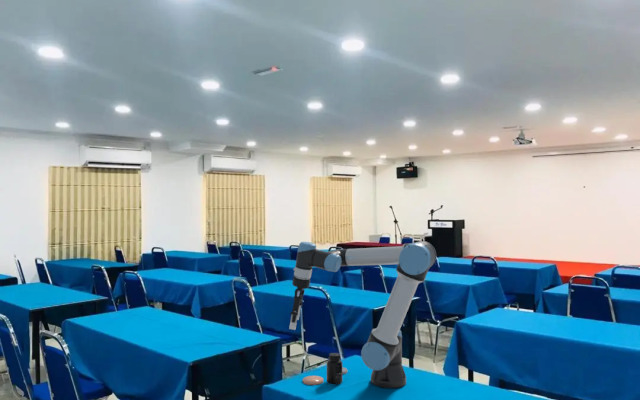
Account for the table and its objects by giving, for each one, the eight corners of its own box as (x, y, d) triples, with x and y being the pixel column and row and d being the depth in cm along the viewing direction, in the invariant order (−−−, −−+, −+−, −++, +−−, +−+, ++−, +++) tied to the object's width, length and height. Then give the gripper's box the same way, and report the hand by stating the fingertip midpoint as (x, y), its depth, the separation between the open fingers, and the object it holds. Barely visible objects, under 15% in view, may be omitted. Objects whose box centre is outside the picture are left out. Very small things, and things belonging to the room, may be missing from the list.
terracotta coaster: (326, 383, 210) (326, 381, 210) (307, 386, 206) (307, 384, 206) (318, 376, 218) (318, 374, 218) (299, 379, 214) (299, 377, 214)
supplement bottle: (341, 385, 207) (340, 357, 207) (325, 384, 208) (325, 356, 208) (343, 379, 214) (343, 352, 214) (328, 378, 215) (328, 351, 215)
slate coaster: (350, 373, 222) (350, 371, 222) (333, 376, 218) (333, 374, 218) (341, 367, 230) (341, 365, 230) (324, 370, 226) (324, 368, 226)
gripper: (296, 269, 226) (289, 314, 227) (290, 282, 201) (281, 332, 202) (312, 272, 225) (304, 317, 227) (308, 285, 200) (299, 335, 202)
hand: (294, 324), depth 215 cm, fingers open, 13 cm apart
